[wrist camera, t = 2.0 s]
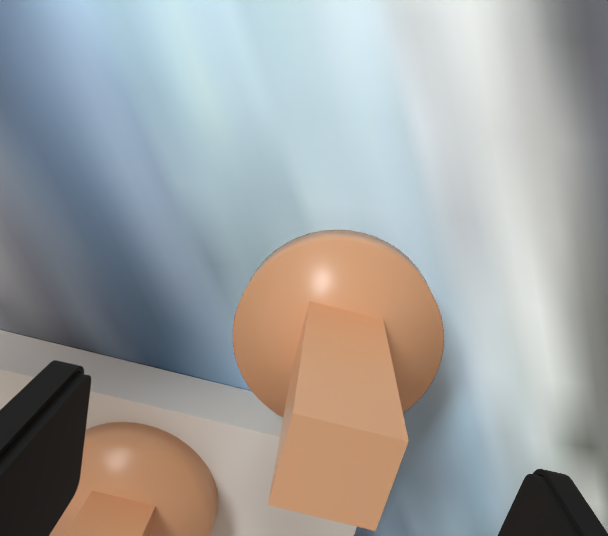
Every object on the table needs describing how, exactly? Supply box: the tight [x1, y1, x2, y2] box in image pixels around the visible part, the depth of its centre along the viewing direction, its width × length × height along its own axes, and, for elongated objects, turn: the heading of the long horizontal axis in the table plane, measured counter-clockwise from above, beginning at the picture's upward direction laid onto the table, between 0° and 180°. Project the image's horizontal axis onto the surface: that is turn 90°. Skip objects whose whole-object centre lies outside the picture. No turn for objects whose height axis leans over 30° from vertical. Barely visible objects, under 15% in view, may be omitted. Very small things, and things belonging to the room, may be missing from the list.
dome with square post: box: [233, 230, 444, 531], centre depth 15 cm, size 7×7×10 cm
